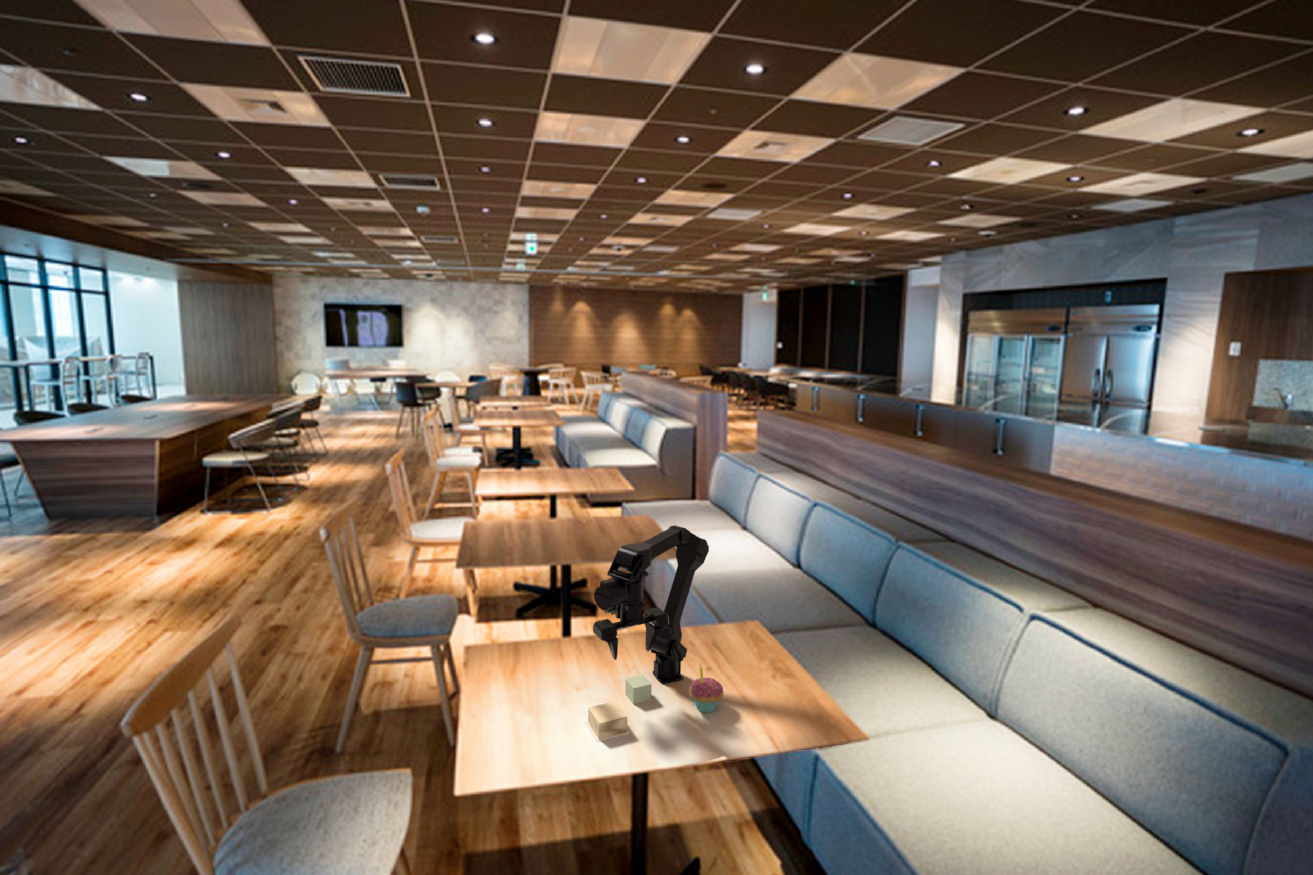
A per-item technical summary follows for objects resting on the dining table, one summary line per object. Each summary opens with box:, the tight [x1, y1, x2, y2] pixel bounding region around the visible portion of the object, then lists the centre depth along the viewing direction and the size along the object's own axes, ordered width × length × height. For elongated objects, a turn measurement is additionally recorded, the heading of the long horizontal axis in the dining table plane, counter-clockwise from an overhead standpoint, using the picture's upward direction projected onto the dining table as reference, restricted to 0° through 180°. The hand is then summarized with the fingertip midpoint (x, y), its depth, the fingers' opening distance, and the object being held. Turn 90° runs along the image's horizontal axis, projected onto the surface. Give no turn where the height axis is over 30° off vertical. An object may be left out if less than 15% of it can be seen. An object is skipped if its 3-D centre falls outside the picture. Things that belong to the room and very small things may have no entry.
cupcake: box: [688, 664, 724, 713], centre depth 165 cm, size 9×8×12 cm
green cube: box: [624, 674, 653, 705], centre depth 169 cm, size 5×5×5 cm
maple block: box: [587, 700, 628, 739], centre depth 155 cm, size 7×7×4 cm
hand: (631, 654), depth 167 cm, fingers open, 9 cm apart
